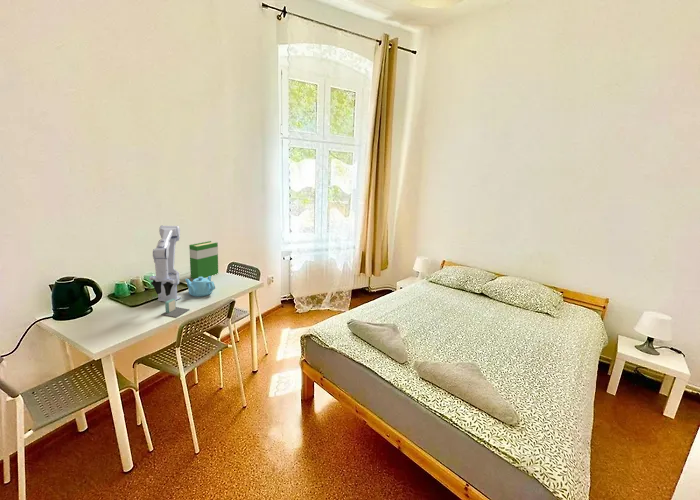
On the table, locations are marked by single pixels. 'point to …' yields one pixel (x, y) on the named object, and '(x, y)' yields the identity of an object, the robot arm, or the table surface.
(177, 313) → the charcoal mat
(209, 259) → the hardback book
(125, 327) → the table surface
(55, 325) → the table surface
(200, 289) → the teapot
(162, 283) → the robot arm
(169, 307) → the teal tile
